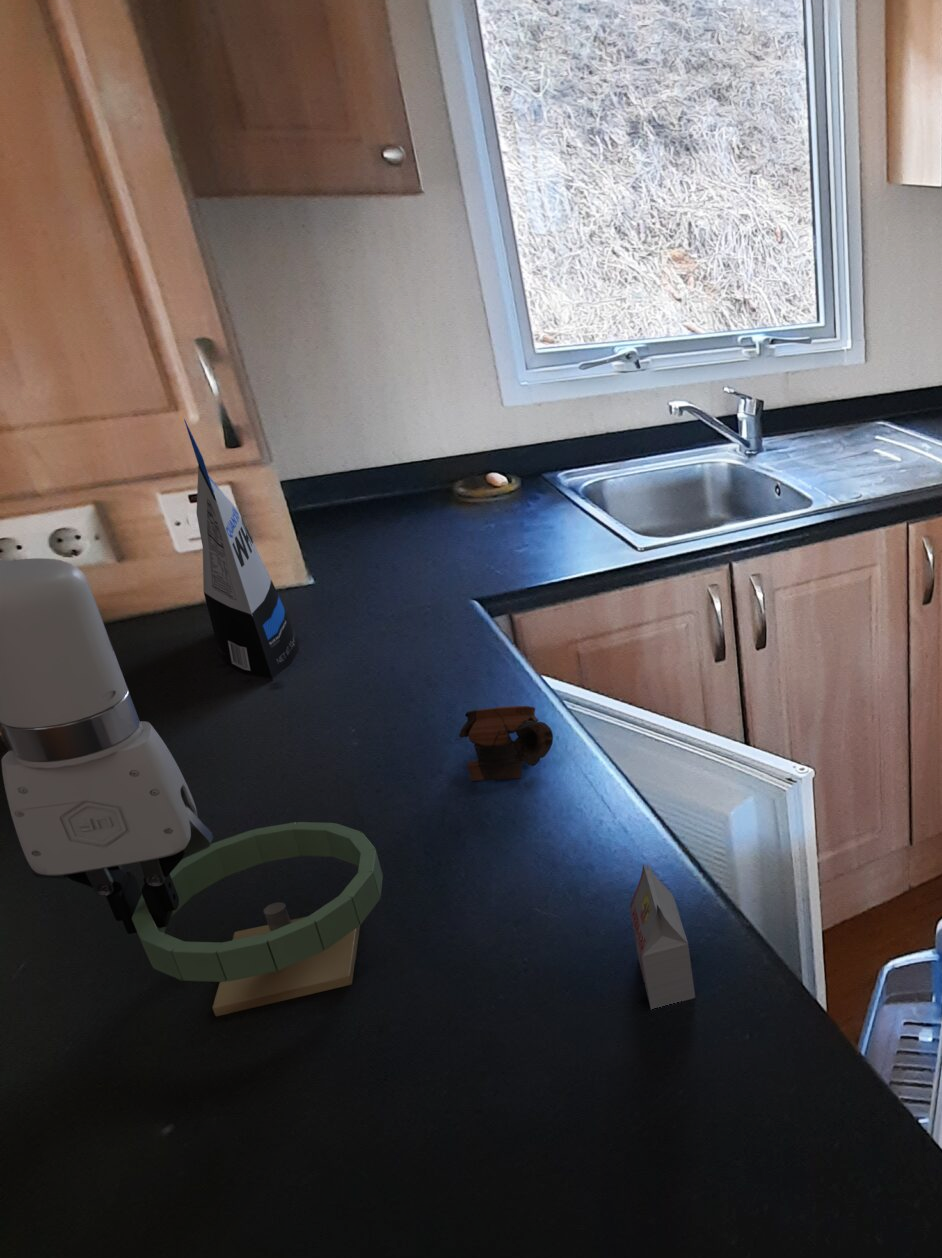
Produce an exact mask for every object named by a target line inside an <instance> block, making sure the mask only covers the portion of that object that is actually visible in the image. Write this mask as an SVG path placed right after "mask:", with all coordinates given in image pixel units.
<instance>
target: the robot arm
mask: <svg viewBox="0 0 942 1258" xmlns="http://www.w3.org/2000/svg"><path fill="white" fill-rule="evenodd" d="M0 741H2V742H4V744H5V746H6V748H7V750H8V751H7V752H6V753H4V755H3V756H2V758H1V760H0V761H1V762H0V763H1V764H0V765H1V773H2V780H3V784H4V785H3V786H4V790H5V796H6V800H7V803H8V804H7V805H8V808H9V813H10V816H11V819H12V822H13V825H14V829H15V832H16V835H17V838H18V842H19V844H20V847H21V849H22V852H23V855H24V857H25V859H26V861H27V863H28V865H29V866H30V869H32V871H31V872H32V875H33V876H35V877H36V878H40V879H44V878H45V879H67V878H68V879H70V880H71V881H74V882H77V883H79V884H81V885H84V886H87V887H89V888H90V887H91V888H92V889H93V891H94V892H95V893H96V895H98V896H102V897H105V898H106V900H107V902H108V905H109V908H110V909H111V912H112V915H113V916H114V919H115V921H117V922H120V921H121V922H122V923H123V926H124V928H125V931H126V933H127V934H128V935H131V934H136V933H137V931H136V928H135V926H134V923H133V921H132V916H133V914H134V911H135V909H136V907H137V904H138V902H139V899H140V897H141V895H142V896H143V898H144V901H145V903H146V906H147V908H148V910H149V913H150V914H151V916H152V918H153V920H154V922H155V924H156V926H157V927H158V928H162V927H166V928H167V927H168V925H169V923H170V920H171V918H172V917H171V915H172V912H173V910H177V908H178V905H179V897H178V894H177V892H176V889H175V886H174V884H173V881H172V879H171V876H170V873H171V872H172V870H173V869H174V868H175V867H176V866H177V865H178V863H179V862H180V861H181V860H183V859H184V858H186V857H189V856H191V855H193V854H195V853H198V852H200V851H202V850H204V849H207V848H208V847H209V846H210V844H212V841H213V839H214V834H213V832H212V831H211V830H210V829H209V828H208V826H206V825H205V823H203V821H201V819H200V818H199V817H198V816H199V815H198V810H197V807H196V804H195V800H194V798H193V795H192V793H191V790H190V789H189V786H188V784H187V782H186V779H185V778H184V775H183V773H182V771H181V769H180V767H179V765H178V763H177V762H176V760H175V758H174V756H173V755H172V753H171V751H170V750H169V748H168V747H167V745H166V743H165V742H164V740H163V739H162V737H161V736H160V735H159V733H158V732H157V730H156V729H155V728H154V726H153V725H152V724H151V722H149V721H142V720H141V721H140V718H139V716H138V712H137V710H136V707H135V704H134V702H133V699H132V697H131V694H130V691H129V688H128V685H127V682H126V681H125V678H124V675H123V671H122V670H121V667H120V664H119V661H118V659H117V656H116V653H115V650H114V647H113V645H112V643H111V639H110V637H109V635H108V632H107V629H106V626H105V624H104V621H103V618H102V615H101V612H100V610H99V606H98V604H97V601H96V599H95V595H94V593H93V591H92V588H91V586H90V584H89V582H88V579H87V577H86V575H85V574H84V572H83V571H81V569H79V568H78V567H77V566H75V565H74V564H72V563H70V562H68V561H64V560H61V559H56V558H45V557H44V558H42V557H41V558H40V557H39V558H38V557H37V558H22V559H21V558H19V559H15V560H13V559H12V560H11V559H6V558H1V557H0ZM137 863H140V864H139V865H140V868H141V870H142V875H143V879H142V880H143V882H144V883H143V886H142V888H140V885H139V883H138V881H137V878H136V875H135V874H133V873H132V872H131V871H125V870H124V867H123V866H125V865H126V866H127V865H131V864H137ZM170 917H171V918H170ZM137 934H138V933H137Z"/></svg>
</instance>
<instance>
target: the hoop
mask: <svg viewBox="0 0 942 1258" xmlns="http://www.w3.org/2000/svg"><path fill="white" fill-rule="evenodd" d="M298 857H325V858H326V857H329V858H331V857H332V858H335V859H338V860H341V861H343V862H346V863H349V864H352V865H355V866H356V867H357V868H358V869H357V873H356V874H355V876H353V878H352V879H351V880H350V882H349V883H348V885H346V887H345V888H344V889H343V890H342V891H341V893H340V894H339V895H338V896H336V897H335V898H333V899H332V900H330V901H329V902H327V903H326V904H325V905H323V906H321V907H320V908H318V909H317V910H315V911H314V912H313V913H311V914H309V915H308V917H307V916H304V917H305V918H303V917H302V918H303V919H301V920H298V921H296V922H293V923H291V924H288V925H286V926H283V927H281V928H278V929H276V930H274V931H271V932H269V933H266V934H261V935H257V936H252V937H247V938H242V939H237V940H233V939H232V940H228V941H223V942H218V941H217V942H213V941H184V940H182V939H179V938H176V937H174V936H172V935H169V934H167V933H165V932H166V929H167V927H162V928H158V927H157V926H156V924H155V922H154V920H153V918H152V916H151V914H150V913H149V910H148V908H147V906H146V903H145V901H144V898H143V896H142V895H141V897H140V899H139V902H138V904H137V907H136V909H135V911H134V914H133V916H132V921H133V923H134V926H135V928H136V931H137V935H138V937H139V940H140V943H141V946H142V947H143V950H144V952H145V955H146V957H147V959H148V961H149V963H150V965H151V967H152V968H153V969H154V970H156V971H158V972H161V973H163V974H165V975H167V976H170V977H172V978H175V979H177V980H179V981H184V982H211V983H213V982H214V983H215V982H216V983H220V982H226V981H228V982H229V981H234V980H238V979H243V978H248V977H252V976H257V975H262V974H266V973H271V972H275V971H276V970H281V969H283V968H286V967H288V966H290V965H293V964H295V963H297V962H300V961H302V960H304V959H307V958H309V957H311V956H314V955H316V954H318V953H321V952H323V949H324V950H326V949H328V948H329V947H330V946H332V945H333V944H335V943H336V942H337V941H339V940H340V939H342V938H343V937H344V936H346V935H347V934H349V933H350V932H351V931H353V930H354V929H356V928H357V927H358V926H359V925H360V926H362V924H363V923H364V921H366V919H367V917H368V916H369V915H370V913H371V912H372V911H373V909H374V908H376V906H377V904H378V903H379V902H380V900H381V897H382V888H383V881H384V879H383V878H384V875H383V871H382V868H381V867H382V866H381V864H380V860H379V857H378V853H377V849H376V848H375V846H374V845H373V844H372V843H371V841H370V840H369V839H368V838H367V836H366V835H365V834H364V833H363V832H362V831H360V830H356V829H354V828H351V827H348V826H345V825H343V824H339V823H337V822H334V823H333V822H314V821H313V822H311V821H308V822H307V821H297V822H296V821H293V822H288V823H282V824H276V825H269V826H265V827H259V828H253V829H250V830H248V831H247V830H246V831H244V832H242V833H238V834H235V835H233V836H230V837H227V838H224V839H221V840H219V841H215V842H213V843H212V842H211V844H210V846H209V847H208V848H207V849H204V850H202V851H200V852H198V853H195V854H193V855H191V856H189V857H188V856H187V857H185V858H183V859H182V860H181V861H180V862H179V863H178V865H177V866H176V867H175V868H174V869H173V870H172V872H171V873H170V876H171V879H172V881H173V884H174V886H175V889H176V892H177V894H178V897H179V905H178V908H177V910H173V912H172V915H171V917H170V919H171V918H172V917H173V916H174V915H175V914H176V913H177V912H178V911H179V910H180V909H182V907H183V906H184V905H185V904H186V903H188V902H189V900H190V899H191V898H193V897H194V896H195V895H196V894H198V893H200V892H203V890H205V889H206V888H208V887H210V886H212V885H213V884H215V883H217V882H219V881H220V880H222V879H224V878H226V877H228V876H232V875H234V874H237V873H239V872H241V871H245V870H247V869H250V868H252V867H255V866H258V865H261V864H265V863H269V862H275V861H280V860H286V859H291V858H298Z"/></svg>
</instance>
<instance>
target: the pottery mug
mask: <svg viewBox="0 0 942 1258" xmlns="http://www.w3.org/2000/svg"><path fill="white" fill-rule="evenodd" d="M535 711H536V708H535V706H529V705H511V706H497V707H489V708H482V709H481V708H480V709H473V710H469V711H466V712H465V714H464V717H467V721H466V723H464V724H463V726H462V727H461V729H460V732H459V733H458V736H459V738H462V739H463V738H467V737H468V740H469V742H470V743H472V744H473V745H474V751H475V754H476V757H477V759H476V760H473V761H468V762H466V769H467V771H468V774H469V777H470V780H471V782H483V781H504V780H505V781H506V780H514V779H515V780H516V779H521V778H522V776H523V772H522V769H523V763H525V764H526V765H527V766H529V767H534V766H536V765H537V764H538V763H539V762H540V761H541V759H542V758H544V757H545V756H546V755H547V754H548V753H549V751H550V750H551V747H552V745H553V741H554V734H553V731H552V729H551V727H550V726H549V725H548V724H546V722H543V721H539V718H537V716H536V713H535ZM514 733H515V734H516V736H517V738H516V739H515V740H513V739H512V738H511V735H510V734H514Z"/></svg>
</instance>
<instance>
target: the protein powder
mask: <svg viewBox="0 0 942 1258" xmlns="http://www.w3.org/2000/svg"><path fill="white" fill-rule="evenodd" d="M183 420H184V424H185V427H186V430H187V433H188V436H189V440H190V443H191V446H192V449H193V452H194V455H195V458H196V459H195V460H196V462H197V465H198V466H197V486H196V487H197V490H196V492H197V493H196V519H197V523H198V529H199V535H200V540H201V545H202V546H201V547H202V578H203V579H202V581H203V583H202V584H203V586H202V587H203V588H202V589H203V595H204V599H205V603H206V606H207V611H208V614H209V618H210V622H211V626H212V630H213V634H214V638H215V643H216V646H217V650H218V655H219V658H220V659H221V660H222V661H223V663H224V664H225V666H227V667H228V668H230V669H233V670H234V671H237V672H239V673H241V674H244V675H247V676H255V677H262V678H269V679H271V681H274V677H275V676H277V675H278V674H279V673H281V672H283V670H285V669H286V668H288V666H290V665H291V664H292V663H293V661H294V659H295V658H296V655H297V654H298V652H299V650H300V645H299V639H298V636H297V634H296V632H295V630H294V628H293V625H292V623H291V621H290V619H289V616H288V614H287V611H286V609H285V607H284V605H283V603H282V600H281V598H280V596H279V594H278V591H277V589H276V586H275V585H274V582H273V580H272V578H271V576H270V574H269V571H268V570H267V568H266V565H265V563H264V561H263V559H262V557H261V555H260V552H259V551H258V548H257V547H256V545H255V543H254V540H253V538H252V536H251V533H250V532H249V529H248V528H247V525H246V523H245V522H244V520H243V517H242V516H241V513H240V511H239V510H238V509H237V507H236V506H235V505H234V503H233V502H232V501H231V500H230V499H229V497H228V496H227V495H226V494H225V493H224V492H223V491H222V490H221V489H220V487H219V486H218V485H217V484H216V483H215V481H214V480H213V479H212V478H211V477H210V476H209V474H208V470H207V467H206V463H205V460H204V457H203V455H202V453H201V451H200V448H199V447H198V444H197V442H196V440H195V438H194V436H193V433H192V432H191V429H190V427H189V425H188V424H187V421H186V419H185V418H183Z"/></svg>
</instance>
